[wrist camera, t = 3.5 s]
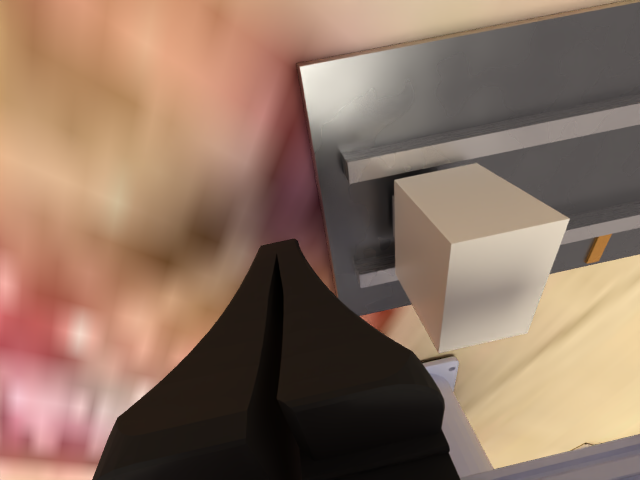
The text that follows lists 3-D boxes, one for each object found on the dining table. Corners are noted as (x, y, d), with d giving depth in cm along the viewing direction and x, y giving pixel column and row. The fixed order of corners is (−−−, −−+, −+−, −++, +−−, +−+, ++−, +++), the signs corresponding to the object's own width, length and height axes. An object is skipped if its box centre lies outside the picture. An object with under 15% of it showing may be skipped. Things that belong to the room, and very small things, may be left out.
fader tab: (449, 245, 14) (527, 333, 10) (387, 258, 14) (438, 353, 10) (460, 153, 12) (569, 218, 7) (384, 168, 12) (451, 244, 7)
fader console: (724, 215, 18) (781, 237, 16) (336, 299, 18) (346, 334, 15) (913, -55, 12) (1055, -75, 9) (296, 63, 11) (302, 69, 9)
